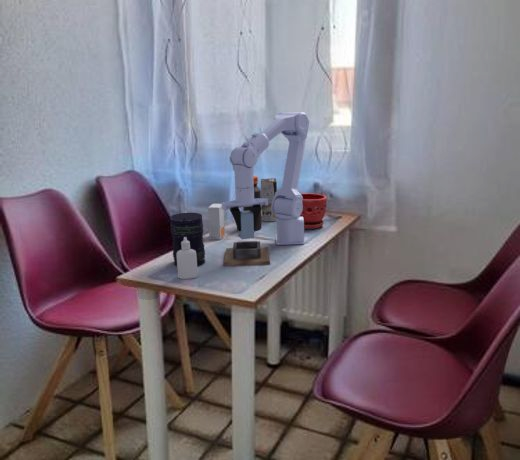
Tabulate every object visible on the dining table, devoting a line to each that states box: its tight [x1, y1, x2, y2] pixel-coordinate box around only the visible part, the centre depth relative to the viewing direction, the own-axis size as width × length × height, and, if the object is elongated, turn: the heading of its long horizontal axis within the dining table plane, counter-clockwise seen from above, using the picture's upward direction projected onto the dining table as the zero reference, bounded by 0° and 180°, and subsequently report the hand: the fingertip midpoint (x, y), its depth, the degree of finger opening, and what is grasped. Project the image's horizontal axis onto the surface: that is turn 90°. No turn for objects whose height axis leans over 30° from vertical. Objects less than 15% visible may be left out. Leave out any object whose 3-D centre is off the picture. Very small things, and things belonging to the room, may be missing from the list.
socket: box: [223, 240, 271, 267], centre depth 152 cm, size 14×14×4 cm
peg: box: [237, 210, 255, 240], centre depth 149 cm, size 4×4×8 cm
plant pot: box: [299, 192, 328, 230], centre depth 183 cm, size 13×13×12 cm
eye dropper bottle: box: [176, 237, 199, 280], centre depth 136 cm, size 4×6×12 cm
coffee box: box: [260, 178, 278, 222], centre depth 195 cm, size 9×6×16 cm
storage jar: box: [169, 212, 206, 268], centre depth 147 cm, size 10×10×15 cm
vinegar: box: [242, 175, 263, 232], centre depth 181 cm, size 7×7×20 cm
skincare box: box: [207, 203, 225, 241], centre depth 172 cm, size 6×4×12 cm
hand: (246, 229), depth 150 cm, fingers closed on peg, 4 cm apart
